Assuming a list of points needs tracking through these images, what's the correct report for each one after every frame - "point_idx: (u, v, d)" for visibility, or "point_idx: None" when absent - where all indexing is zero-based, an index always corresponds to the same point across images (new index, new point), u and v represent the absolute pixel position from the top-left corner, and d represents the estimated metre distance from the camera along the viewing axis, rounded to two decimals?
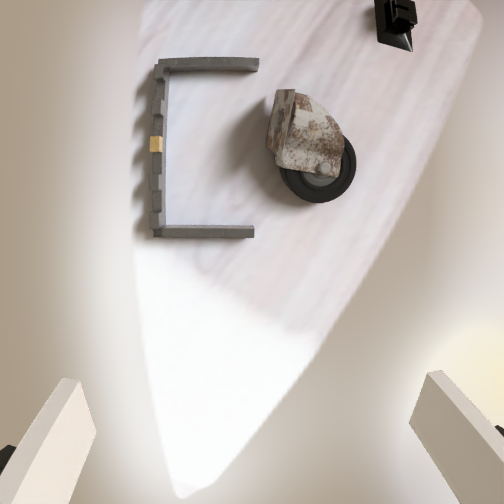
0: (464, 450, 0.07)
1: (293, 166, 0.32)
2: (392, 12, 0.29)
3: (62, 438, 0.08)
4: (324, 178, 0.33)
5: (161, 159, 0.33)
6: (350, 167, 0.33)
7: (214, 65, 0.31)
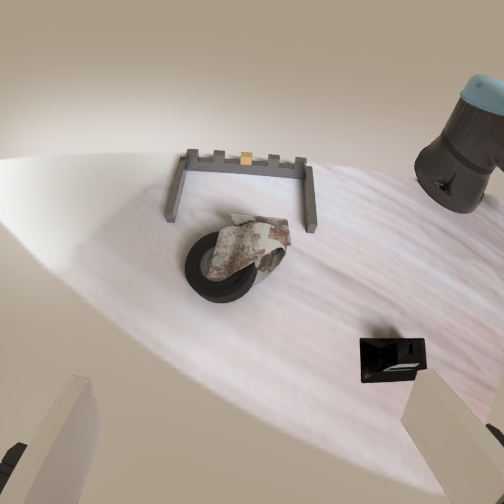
0: (454, 448, 0.08)
1: (220, 236, 0.38)
2: None
3: (73, 435, 0.08)
4: (207, 265, 0.37)
5: (235, 163, 0.47)
6: (215, 290, 0.36)
7: (307, 197, 0.45)
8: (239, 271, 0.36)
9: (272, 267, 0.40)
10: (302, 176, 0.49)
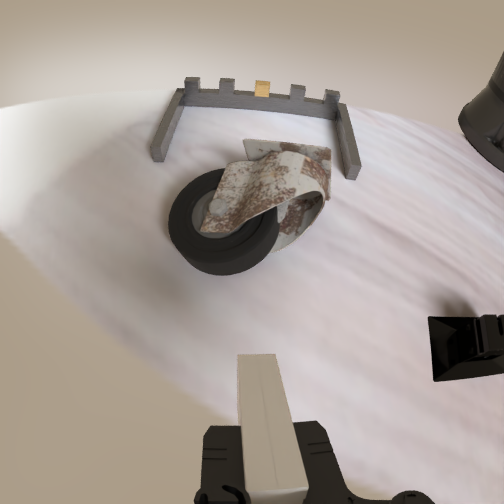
0: None
1: (227, 173, 0.25)
2: None
3: None
4: (202, 214, 0.24)
5: (247, 95, 0.34)
6: (211, 252, 0.22)
7: (344, 134, 0.32)
8: (252, 224, 0.23)
9: (302, 228, 0.26)
10: (333, 115, 0.35)
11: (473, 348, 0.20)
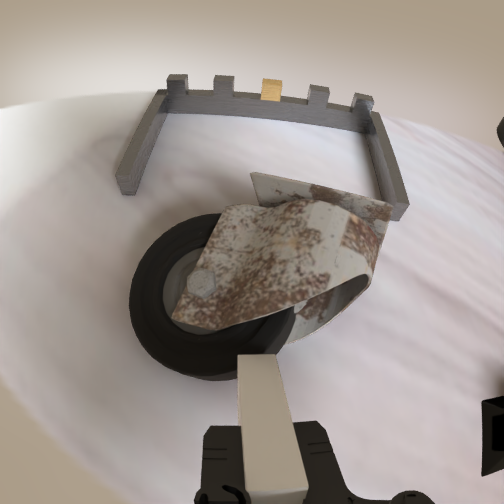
0: None
1: (223, 223, 0.16)
2: None
3: None
4: (178, 289, 0.15)
5: (251, 98, 0.25)
6: (184, 356, 0.14)
7: (383, 156, 0.23)
8: None
9: (329, 313, 0.17)
10: (364, 127, 0.27)
11: None
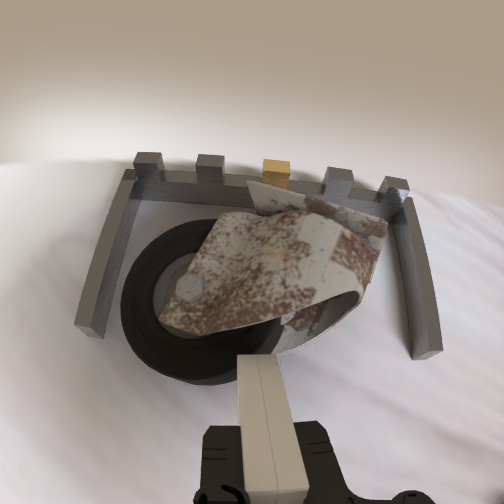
0: None
1: (217, 230, 0.16)
2: None
3: None
4: (168, 292, 0.15)
5: None
6: (168, 358, 0.14)
7: (417, 275, 0.18)
8: (236, 327, 0.14)
9: (319, 327, 0.17)
10: (392, 217, 0.22)
11: None
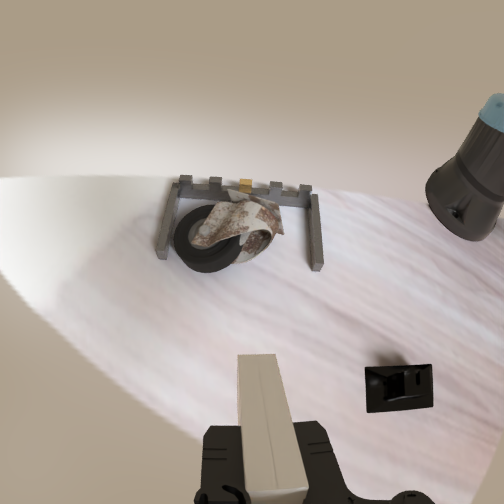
0: None
1: (215, 208, 0.39)
2: None
3: None
4: (195, 233, 0.38)
5: None
6: (194, 257, 0.37)
7: (313, 230, 0.41)
8: (221, 244, 0.37)
9: (258, 251, 0.40)
10: (307, 205, 0.45)
11: (395, 392, 0.30)
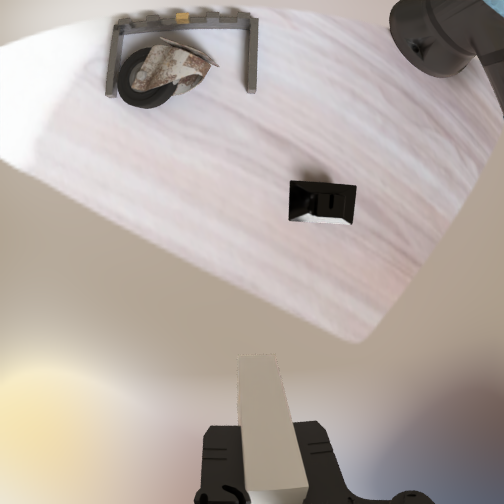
0: None
1: (151, 52, 0.34)
2: None
3: None
4: (134, 77, 0.35)
5: (171, 24, 0.34)
6: (134, 100, 0.36)
7: (249, 57, 0.37)
8: (156, 87, 0.35)
9: (194, 84, 0.38)
10: (248, 27, 0.36)
11: (311, 210, 0.41)
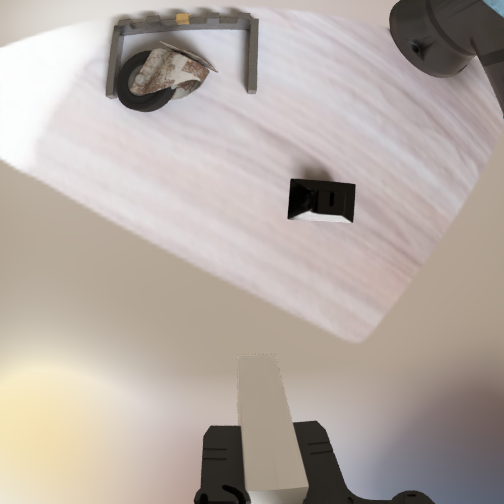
0: None
1: (151, 56, 0.34)
2: (325, 191, 0.41)
3: None
4: (133, 80, 0.35)
5: (171, 24, 0.34)
6: (132, 103, 0.36)
7: (249, 57, 0.37)
8: (155, 91, 0.35)
9: (193, 89, 0.38)
10: (248, 28, 0.37)
11: (312, 207, 0.41)
